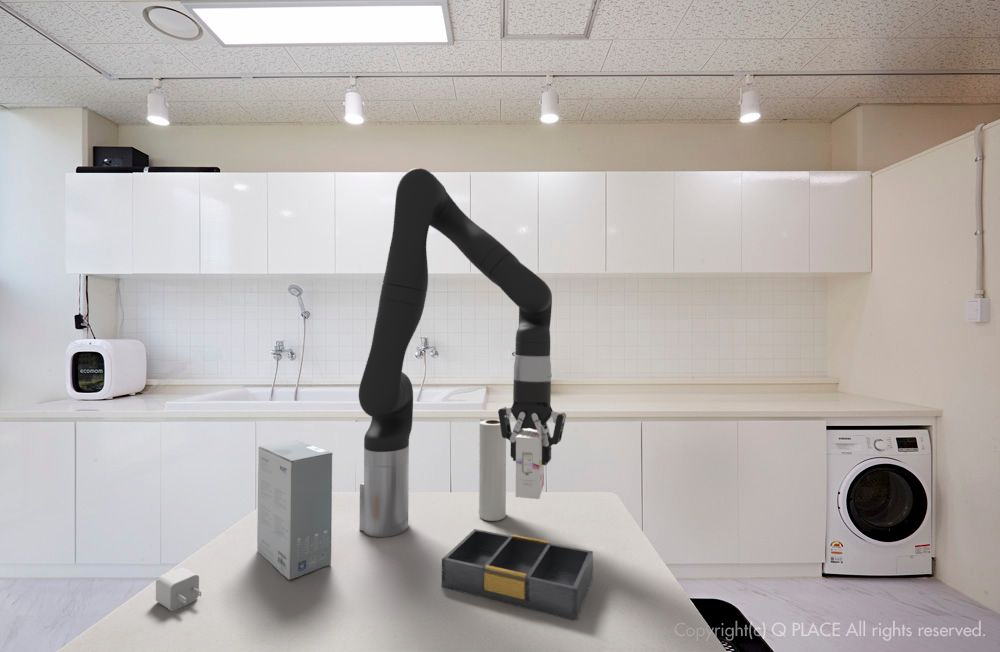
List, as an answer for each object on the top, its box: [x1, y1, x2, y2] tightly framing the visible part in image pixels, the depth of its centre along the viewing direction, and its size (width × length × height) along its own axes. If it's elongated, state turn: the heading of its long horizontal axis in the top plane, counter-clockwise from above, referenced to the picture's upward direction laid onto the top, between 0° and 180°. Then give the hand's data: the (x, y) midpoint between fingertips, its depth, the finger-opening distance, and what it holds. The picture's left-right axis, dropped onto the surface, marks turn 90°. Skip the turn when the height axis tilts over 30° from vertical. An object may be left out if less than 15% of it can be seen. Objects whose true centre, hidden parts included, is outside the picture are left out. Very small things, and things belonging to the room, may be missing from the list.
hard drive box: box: [256, 439, 333, 581], centre depth 83 cm, size 16×8×20 cm, turn 47°
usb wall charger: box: [155, 566, 202, 612], centre depth 69 cm, size 4×7×4 cm, turn 60°
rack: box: [441, 528, 594, 621], centre depth 75 cm, size 22×13×5 cm, turn 67°
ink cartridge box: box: [515, 420, 545, 500], centre depth 90 cm, size 9×5×15 cm, turn 168°
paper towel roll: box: [478, 418, 507, 522], centre depth 102 cm, size 7×6×21 cm
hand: (530, 461), depth 90 cm, fingers closed on ink cartridge box, 5 cm apart
